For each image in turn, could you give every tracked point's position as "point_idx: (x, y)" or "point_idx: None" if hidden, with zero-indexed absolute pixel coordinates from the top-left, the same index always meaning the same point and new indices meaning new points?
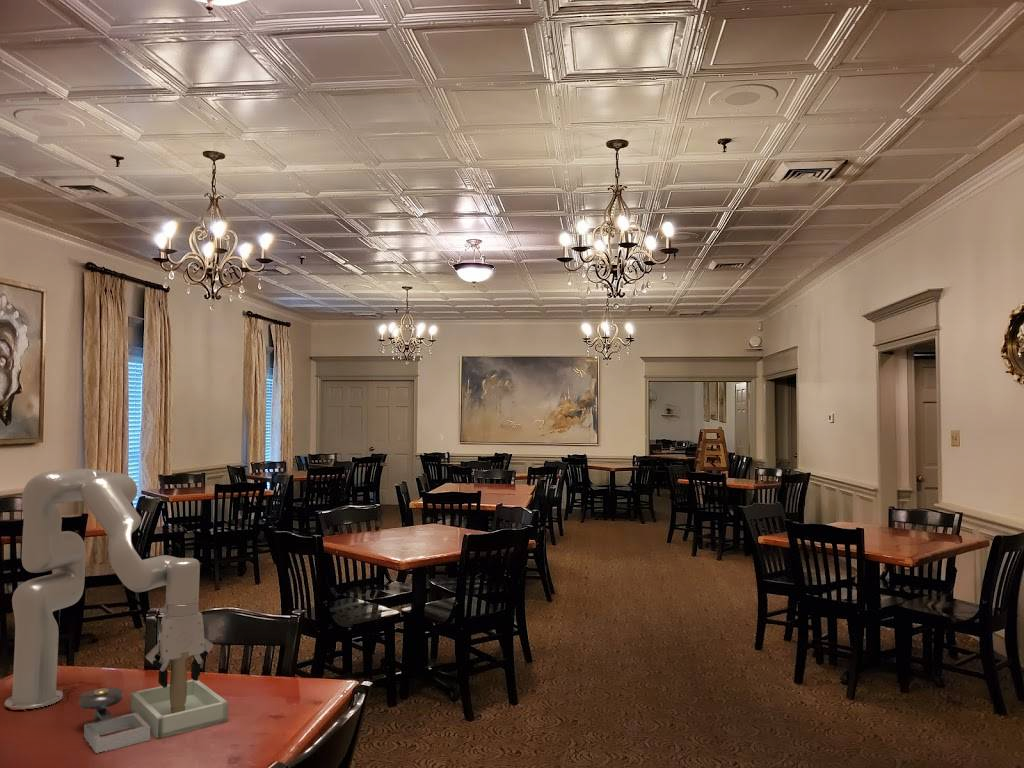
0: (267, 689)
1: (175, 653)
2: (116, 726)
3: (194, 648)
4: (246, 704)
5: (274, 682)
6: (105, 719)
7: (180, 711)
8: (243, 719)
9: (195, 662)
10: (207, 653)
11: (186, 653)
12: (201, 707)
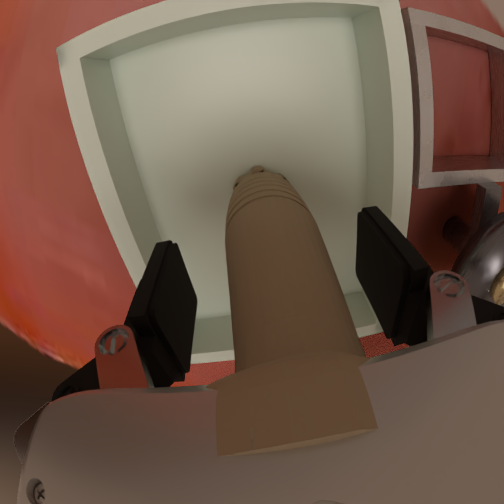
0: (16, 280)
1: (466, 406)
2: (454, 161)
3: (121, 483)
4: (39, 193)
5: (16, 312)
6: (487, 182)
7: (254, 166)
8: (50, 56)
9: (153, 347)
10: (54, 393)
11: (270, 426)
12: (179, 10)
